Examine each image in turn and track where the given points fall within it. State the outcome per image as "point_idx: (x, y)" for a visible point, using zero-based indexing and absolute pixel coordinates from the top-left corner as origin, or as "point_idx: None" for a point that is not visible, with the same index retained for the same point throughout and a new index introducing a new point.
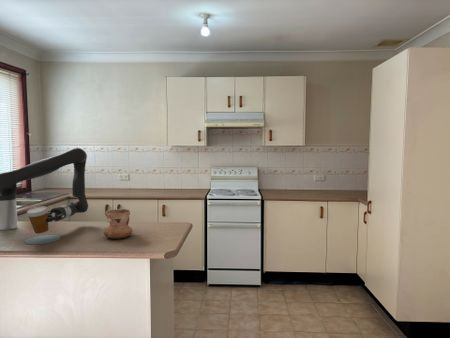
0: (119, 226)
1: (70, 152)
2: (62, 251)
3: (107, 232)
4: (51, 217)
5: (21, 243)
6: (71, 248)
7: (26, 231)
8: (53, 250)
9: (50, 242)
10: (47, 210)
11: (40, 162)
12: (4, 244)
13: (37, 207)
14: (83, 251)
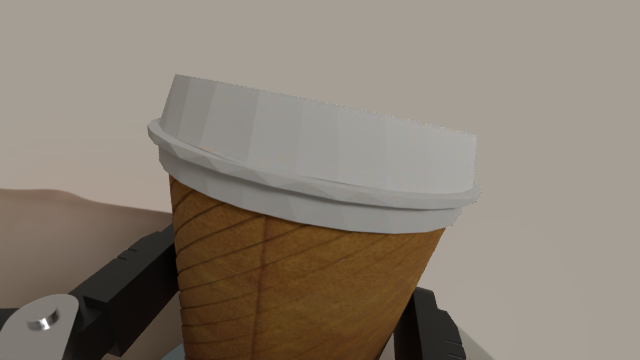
0: None
1: None
2: (114, 206)
3: None
4: (104, 286)
5: (387, 355)
6: (57, 228)
7: None
8: (154, 221)
9: (174, 351)
10: (158, 119)
11: None
12: (479, 345)
13: (414, 136)
14: (18, 193)
